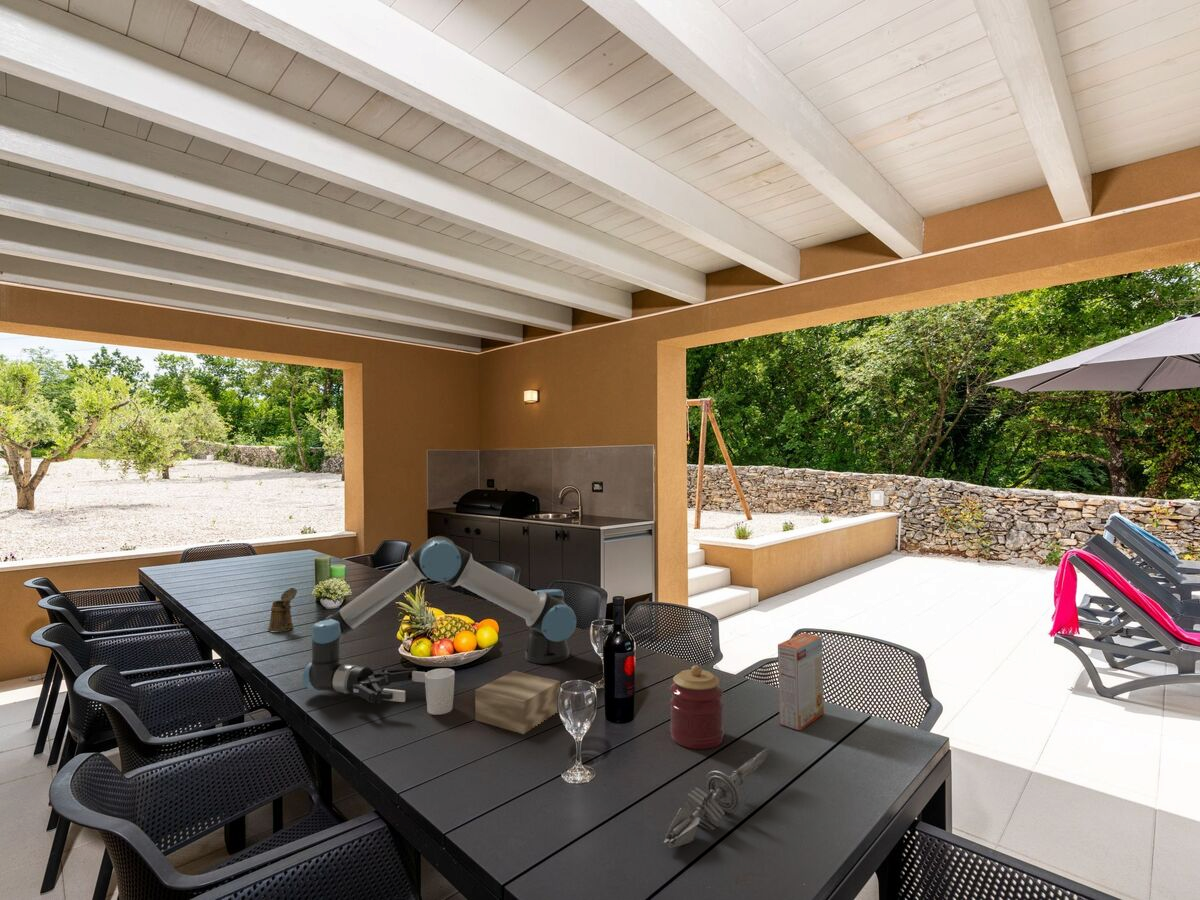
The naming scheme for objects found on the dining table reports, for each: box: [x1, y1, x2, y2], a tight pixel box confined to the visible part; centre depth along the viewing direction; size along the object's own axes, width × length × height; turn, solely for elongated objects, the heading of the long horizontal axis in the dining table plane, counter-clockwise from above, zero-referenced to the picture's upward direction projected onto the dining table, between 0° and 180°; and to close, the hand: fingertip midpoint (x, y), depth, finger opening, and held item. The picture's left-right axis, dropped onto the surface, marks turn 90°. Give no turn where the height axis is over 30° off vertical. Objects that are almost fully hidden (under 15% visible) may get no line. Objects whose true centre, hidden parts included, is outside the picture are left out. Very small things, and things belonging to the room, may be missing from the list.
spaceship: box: [663, 748, 770, 849], centre depth 115 cm, size 8×35×8 cm
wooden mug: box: [267, 587, 298, 632], centre depth 240 cm, size 9×14×18 cm, turn 55°
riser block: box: [474, 670, 561, 735], centre depth 159 cm, size 16×16×8 cm
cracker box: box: [777, 632, 825, 732], centre depth 155 cm, size 14×6×21 cm, turn 134°
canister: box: [669, 664, 725, 750], centre depth 146 cm, size 13×13×18 cm
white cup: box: [424, 667, 456, 716], centre depth 163 cm, size 8×8×10 cm
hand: (419, 686), depth 164 cm, fingers open, 13 cm apart
